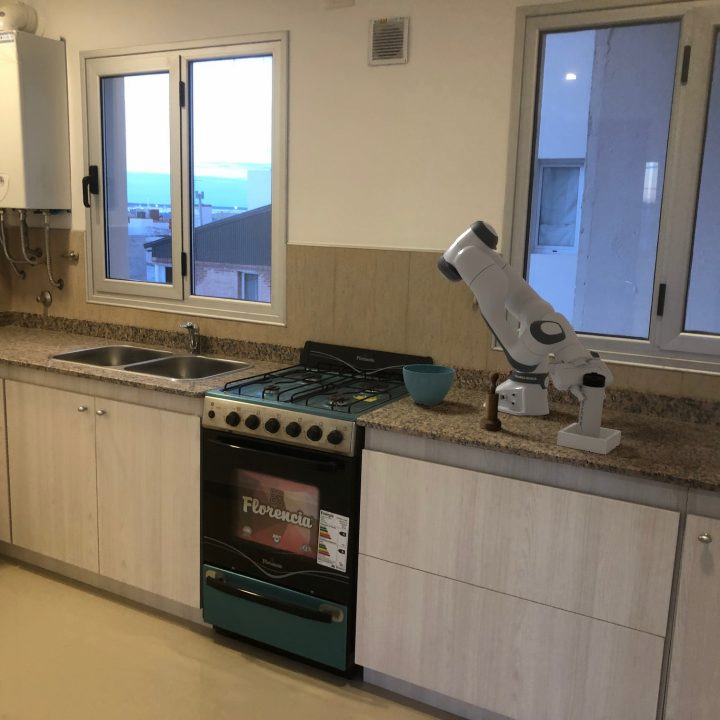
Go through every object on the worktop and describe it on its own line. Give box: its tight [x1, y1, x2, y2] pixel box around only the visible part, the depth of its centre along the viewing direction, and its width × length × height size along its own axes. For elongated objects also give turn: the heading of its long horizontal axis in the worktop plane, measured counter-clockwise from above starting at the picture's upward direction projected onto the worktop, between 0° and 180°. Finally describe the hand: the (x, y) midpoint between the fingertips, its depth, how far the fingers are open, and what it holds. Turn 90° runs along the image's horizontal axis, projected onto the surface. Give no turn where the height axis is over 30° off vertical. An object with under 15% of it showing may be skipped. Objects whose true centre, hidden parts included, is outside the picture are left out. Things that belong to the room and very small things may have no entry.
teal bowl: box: [402, 364, 456, 406], centre depth 261 cm, size 18×18×12 cm
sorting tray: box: [556, 422, 622, 456], centre depth 216 cm, size 14×14×4 cm
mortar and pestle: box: [479, 370, 502, 431], centre depth 229 cm, size 7×6×18 cm
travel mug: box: [577, 372, 606, 438], centre depth 214 cm, size 6×7×20 cm
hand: (593, 399), depth 213 cm, fingers closed on travel mug, 6 cm apart
